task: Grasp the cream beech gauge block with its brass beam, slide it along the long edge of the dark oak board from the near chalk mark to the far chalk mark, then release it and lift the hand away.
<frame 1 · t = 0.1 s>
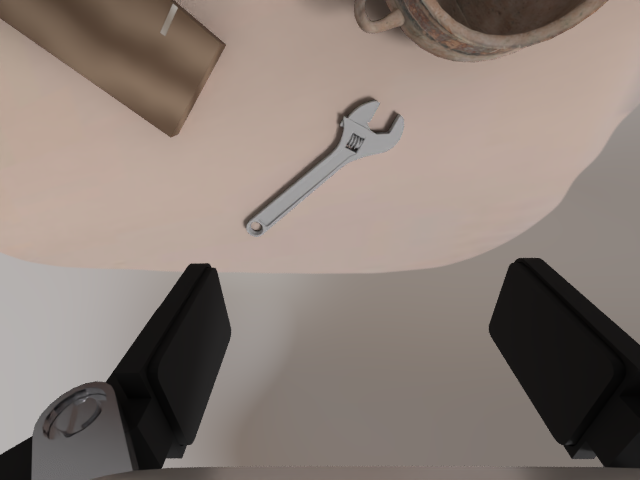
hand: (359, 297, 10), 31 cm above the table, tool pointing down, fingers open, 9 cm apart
adjustable wrench: (313, 169, 40), on the table
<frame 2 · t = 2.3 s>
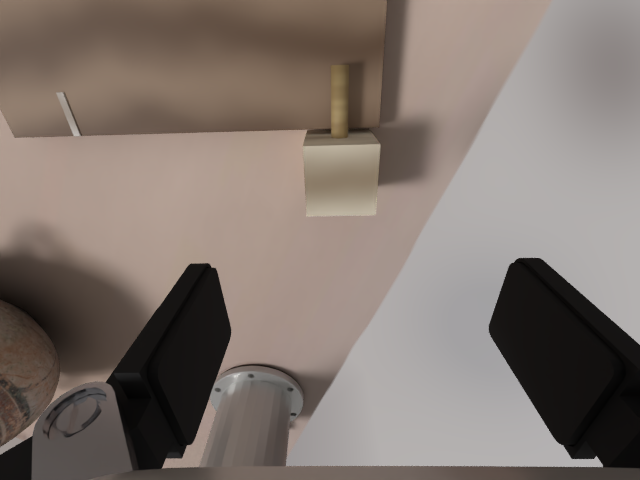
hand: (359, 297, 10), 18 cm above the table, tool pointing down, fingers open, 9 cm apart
cooking pot: (9, 320, 36), on the table
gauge: (337, 160, 26), on the table
board: (185, 40, 22), on the table
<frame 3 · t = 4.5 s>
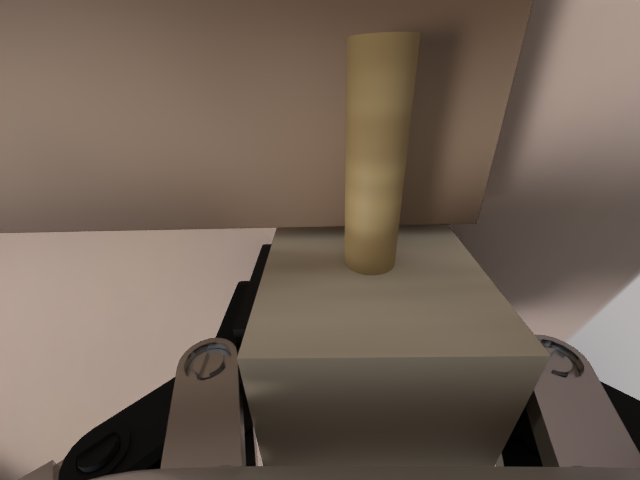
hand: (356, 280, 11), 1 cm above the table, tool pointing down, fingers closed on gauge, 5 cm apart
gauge: (355, 269, 11), on the table, touching gripper
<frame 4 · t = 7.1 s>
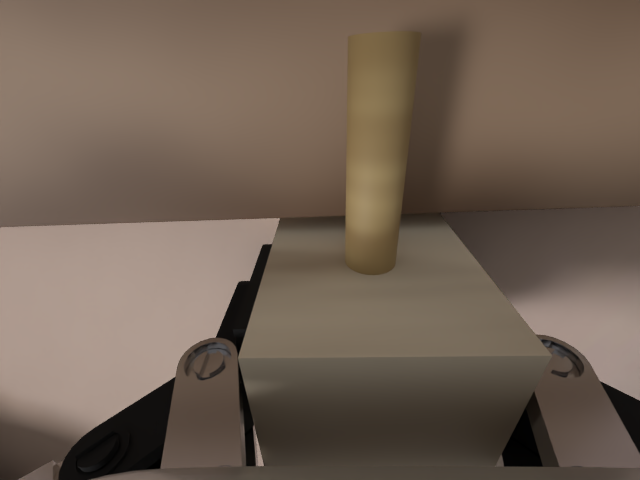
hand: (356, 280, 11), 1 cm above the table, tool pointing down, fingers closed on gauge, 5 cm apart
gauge: (355, 268, 11), on the table, touching gripper
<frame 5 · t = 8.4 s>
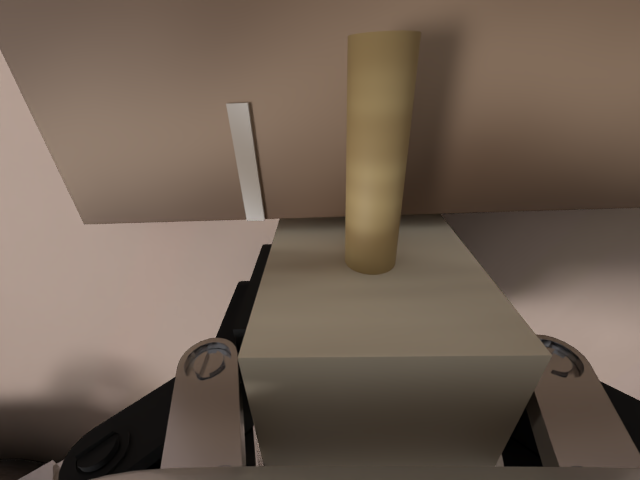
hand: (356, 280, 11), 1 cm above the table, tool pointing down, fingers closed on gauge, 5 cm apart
cooking pot: (40, 479, 21), on the table
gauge: (355, 268, 11), on the table, touching gripper
when the fingers open (1 cm above the table, at t = 9.6 s): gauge stays where it is, on the table.
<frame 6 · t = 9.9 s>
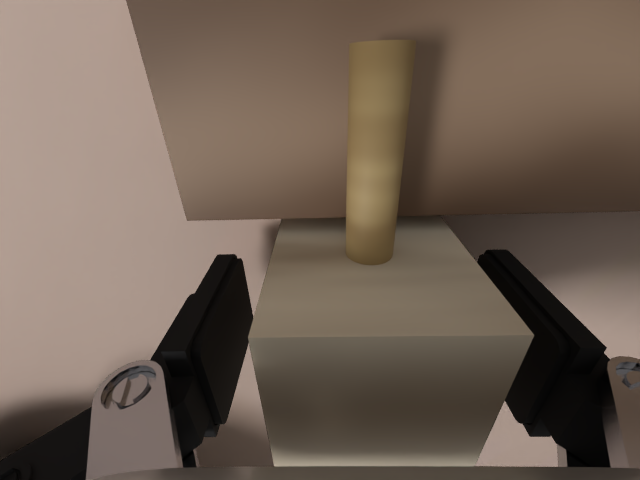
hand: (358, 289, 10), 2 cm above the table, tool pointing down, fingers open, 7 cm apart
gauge: (354, 263, 12), on the table
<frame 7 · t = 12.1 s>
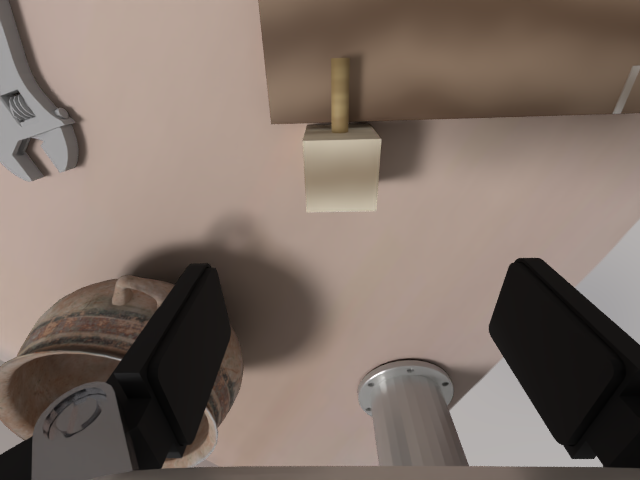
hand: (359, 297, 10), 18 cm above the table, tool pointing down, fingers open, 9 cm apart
cooking pot: (175, 314, 35), on the table
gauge: (338, 155, 25), on the table
adjustable wrench: (11, 6, 21), on the table
board: (468, 21, 21), on the table
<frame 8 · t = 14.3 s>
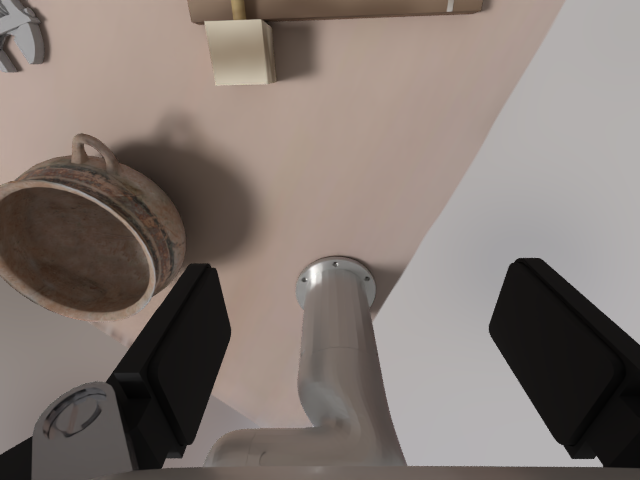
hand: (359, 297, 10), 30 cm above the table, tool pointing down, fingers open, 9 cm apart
cooking pot: (135, 211, 42), on the table
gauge: (251, 56, 33), on the table
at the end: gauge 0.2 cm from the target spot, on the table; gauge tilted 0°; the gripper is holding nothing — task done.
